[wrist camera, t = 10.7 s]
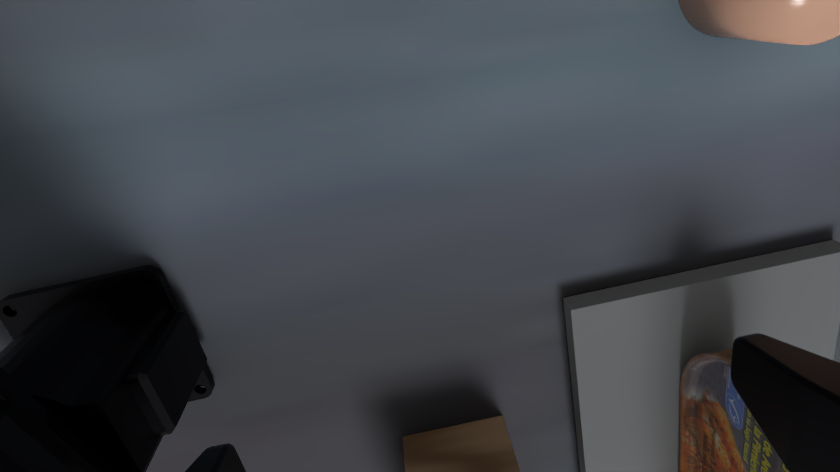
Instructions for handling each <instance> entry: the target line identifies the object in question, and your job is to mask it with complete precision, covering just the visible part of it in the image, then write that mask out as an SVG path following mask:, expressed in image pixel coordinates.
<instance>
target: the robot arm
mask: <svg viewBox="0 0 840 472" xmlns="http://www.w3.org/2000/svg"><path fill="white" fill-rule="evenodd" d="M144 276H149V277H151V278H152V279H153V280H154V282H149V281H147V280H146V279H145V277H144ZM10 306H11V307H14V308H15V309H16V311H14V310H12V309H11V308H10ZM0 319H1V320H2V322H3V323H4V325H5V326H6V328H7V330H8V331H9V333H10V334H11V336H12V337H13V339H14V340H13V341H12V342H11V343H10V344H9V345H8V346H7V347H6V348H5V349H4V350H3V351H1V352H0V472H146V470H147V468H148V466H149V464H150V462H151V460H152V458H153V456H154V454H155V451H156V449H157V447H158V445H159V443H160V441H161V439H162V437H163V435H167V434H171V433H172V432H173V430H174V429H175V427H176V425H177V423H178V421H179V419H180V417H181V415H182V413H183V410H184V408H185V406H186V404H187V402H189V401H193V400H198V399H203V398H206V397H209V396H210V395H211V393H212V391H213V388H214V385H215V383H214V380H213V377H212V375H211V373H210V371H209V369H208V367H207V365H206V361H207V357H206V355H205V353H204V351H203V349H202V347H201V345H200V343H199V340H198V338H197V336H196V334H195V332H194V330H193V328H192V326H191V323H190V321H189V319H188V317H187V315H186V313H185V312H183V311H182V310H180V308H179V306H178V304H177V302H176V300H175V297H174V295H173V293H172V291H171V289H170V287H169V285H168V283H167V281H166V279H165V276H164V274H163V273H162V271H161V270H160V269H158V268H157V267H155V266H151V265H148V266H142V267H137V268H132V269H128V270H123V271H119V272H114V273H110V274H105V275H100V276H96V277H91V278H87V279H82V280H78V281H73V282H68V283H64V284H59V285H55V286H50V287H46V288H41V289H36V290H32V291H27V292H23V293H18V294H14V295H9V296H7V297H5V298H4V299H3V300H1V301H0ZM730 376H731V380H732V383H733V386H734V388H735V389H736V391H737V393H738V394H739V396H740V397H741V399H742V400H743V402H744V403H745V405H746V407H747V408H748V410H749V411H750V413H751V414H752V416H753V418H754V419H755V421H756V422H757V424H758V425H759V427H760V429H761V430H762V432H763V433H764V435H765V436H766V438H767V439H768V441H769V443H770V444H771V446H772V447H773V449H774V450H775V452H776V454H777V455H778V456H779V458H780V459H781V461H782V462H783V464H784V465H785V467H786V468H787V469H788V471H789V472H840V363H839V362H836V361H833V360H831V359H828V358H825V357H823V356H820V355H817V354H815V353H812V352H809V351H807V350H804V349H801V348H799V347H796V346H793V345H791V344H788V343H785V342H783V341H780V340H777V339H775V338H772V337H769V336H767V335H764V334H760V333H755V334H750V335H745V336H741V337H738V338H736V339H735V340H734V342H733V345H732V357H731V370H730ZM198 385H203V386H205V387H206V388H202V387H199V386H198ZM185 472H246V471H245V469H244V466H243V464H242V462H241V460H240V458H239V456H238V454H237V452H236V450H235V448H234V446H233V445H231V444H222V445H217V446H212V447H209V448H207V449H206V450H205V451H204V452H203V453H202V454H201V455H200V456H199V457H198V458H197V459H196V460H195V461H194V462H193V464H192V465H191V466H190V467H189V468H188V469H187V470H186V471H185Z"/></svg>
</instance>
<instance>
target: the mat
mask: <svg viewBox="0 0 840 472" xmlns="http://www.w3.org/2000/svg"><path fill="white" fill-rule="evenodd" d="M563 302H564V313H565V323H566V333H567V343H568V353H569V364H570V374H571V384H572V394H573V405H574V415H575V425H576V435H577V445H578V456H579V466H580V472H680V382H681V377H682V373H683V370H684V367H685V366H686V364H687V363H688V361H689V360H690V359H691V358H693V357H694V356H696V355H698V354H701V353H716V352H719V351H723V350H727V349H731V348H732V345H733V342H734V340H735V339H736V338H738V337H741V336H745V335H750V334H755V333H760V334H764V335H767V336H769V337H772V338H775V339H777V340H780V341H783V342H785V343H788V344H791V345H793V346H796V347H799V348H801V349H804V350H807V351H809V352H812V353H815V354H817V355H820V356H823V357H825V358H828V359H831V360H833V358H834V353H835V347H836V341H837V335H838V330H839V324H840V243H839V242H837V241H835V240H829V241H824V242H820V243H815V244H810V245H806V246H801V247H796V248H792V249H787V250H783V251H778V252H773V253H769V254H764V255H759V256H755V257H750V258H746V259H741V260H736V261H732V262H727V263H722V264H718V265H713V266H709V267H704V268H699V269H695V270H690V271H685V272H681V273H676V274H671V275H667V276H662V277H658V278H653V279H648V280H644V281H639V282H634V283H630V284H625V285H621V286H616V287H611V288H607V289H602V290H597V291H593V292H588V293H583V294H579V295H574V296H570V297H565V298H563Z"/></svg>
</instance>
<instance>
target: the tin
mask: <svg viewBox="0 0 840 472" xmlns="http://www.w3.org/2000/svg"><path fill="white" fill-rule="evenodd" d="M731 357H732V348H731V349H727V350H723V351H719V352H716V353H701V354H698V355H696V356H694V357H693V358H691V359H690V360H689V361H688V363H687V364H686V366H685V367H684V370H683V373H682V377H681V382H680V472H789V471H788V469H787V468H786V467H785V465H784V464H783V462H782V461H781V459H780V458H779V456H778V455H777V454H776V452H775V450H774V449H773V447H772V446H771V444H770V443H769V441H768V439H767V438H766V436H765V435H764V433H763V432H762V430H761V429H760V427H759V425H758V424H757V422H756V421H755V419H754V418H753V416H752V414H751V413H750V411H749V410H748V408H747V407H746V405H745V403H744V402H743V400H742V399H741V397H740V396H739V394H738V393H737V391H736V389H735V388H734V386H733V383H732V380H731V376H730V370H731Z"/></svg>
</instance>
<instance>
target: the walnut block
mask: <svg viewBox="0 0 840 472" xmlns="http://www.w3.org/2000/svg"><path fill="white" fill-rule="evenodd" d="M403 451H404V467H405V472H520V470H519V467H518V463H517V460H516V457H515V454H514V450H513V447H512V444H511V441H510V437H509V434H508V431H507V428H506V425H505V421H504V418H503V415H501V416H497V417H492V418H487V419H483V420H478V421H473V422H468V423H464V424H459V425H454V426H450V427H445V428H440V429H436V430H431V431H426V432H422V433H417V434H412V435H408V436H403Z"/></svg>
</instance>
